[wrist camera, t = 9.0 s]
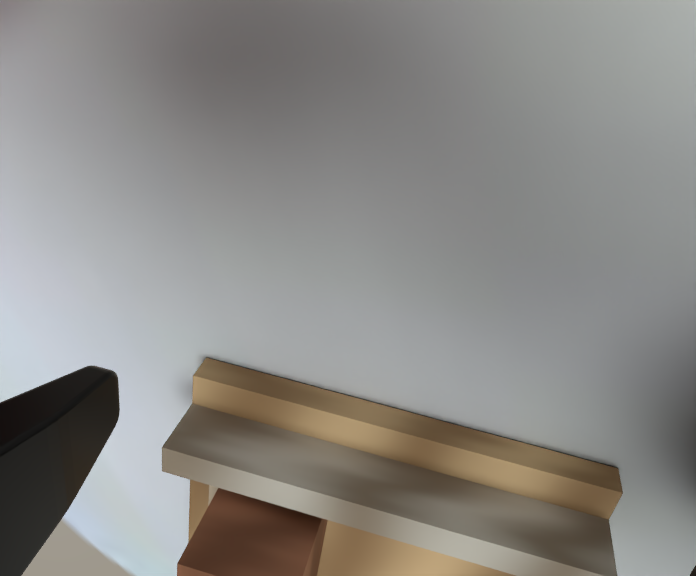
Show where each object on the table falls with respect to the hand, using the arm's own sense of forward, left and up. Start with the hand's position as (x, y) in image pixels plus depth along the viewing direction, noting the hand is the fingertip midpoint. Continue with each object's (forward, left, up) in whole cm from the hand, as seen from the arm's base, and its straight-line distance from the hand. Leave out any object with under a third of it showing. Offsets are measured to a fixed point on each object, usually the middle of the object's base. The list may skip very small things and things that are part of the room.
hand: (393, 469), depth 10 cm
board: (0, +16, -12) cm, 20 cm away
